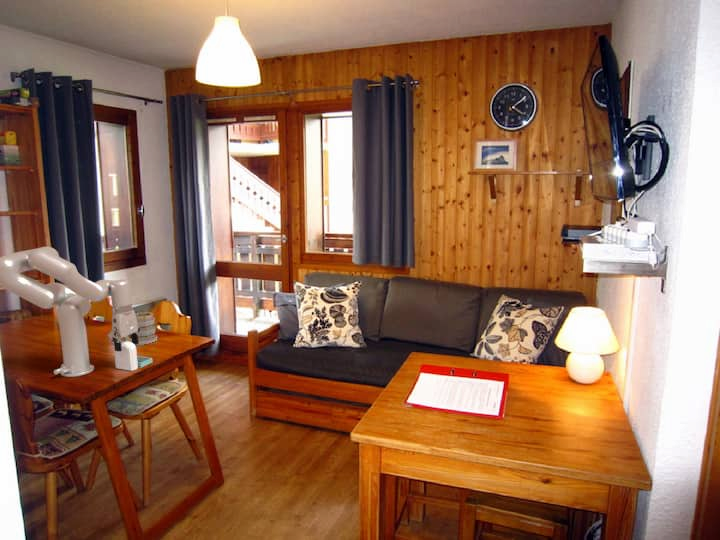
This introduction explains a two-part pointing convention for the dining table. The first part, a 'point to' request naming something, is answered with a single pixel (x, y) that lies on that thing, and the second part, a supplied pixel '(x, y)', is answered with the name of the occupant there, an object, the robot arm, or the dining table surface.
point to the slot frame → (145, 361)
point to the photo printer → (126, 356)
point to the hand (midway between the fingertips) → (127, 347)
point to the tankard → (145, 329)
